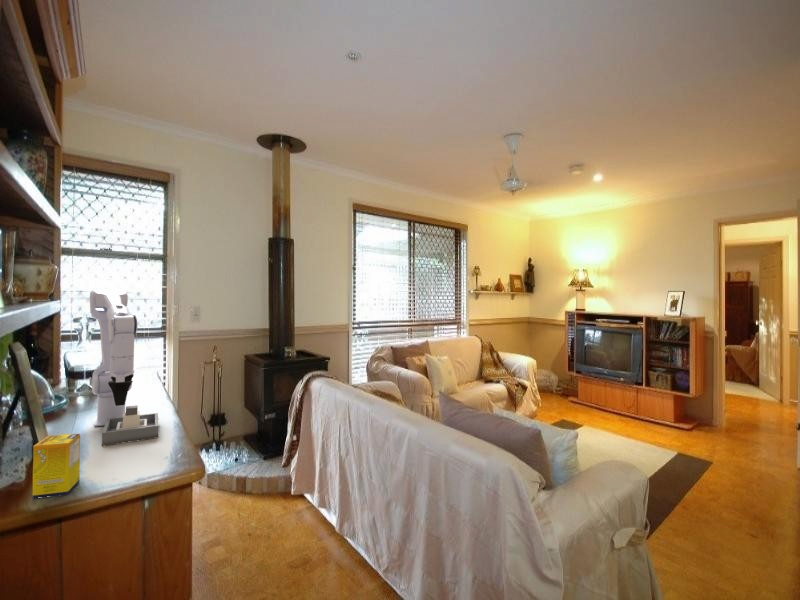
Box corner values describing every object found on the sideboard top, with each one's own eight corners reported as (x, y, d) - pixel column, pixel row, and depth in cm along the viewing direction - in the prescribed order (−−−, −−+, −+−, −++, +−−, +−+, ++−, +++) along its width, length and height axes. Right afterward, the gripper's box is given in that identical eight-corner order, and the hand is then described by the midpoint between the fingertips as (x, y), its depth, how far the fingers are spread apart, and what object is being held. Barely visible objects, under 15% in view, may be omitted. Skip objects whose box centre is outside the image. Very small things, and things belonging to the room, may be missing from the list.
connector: (123, 429, 115) (123, 406, 115) (139, 427, 117) (140, 404, 117) (122, 433, 112) (123, 409, 112) (139, 431, 114) (139, 407, 114)
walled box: (106, 430, 117) (107, 418, 117) (157, 423, 124) (157, 412, 124) (101, 445, 105) (102, 433, 105) (158, 437, 112) (158, 425, 112)
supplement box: (45, 486, 83) (47, 435, 83) (80, 482, 85) (81, 432, 85) (30, 500, 77) (32, 445, 77) (67, 495, 79) (69, 442, 79)
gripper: (107, 353, 118) (106, 397, 118) (102, 360, 106) (101, 410, 106) (135, 352, 122) (134, 395, 122) (133, 359, 110) (132, 406, 110)
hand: (120, 401), depth 115 cm, fingers open, 7 cm apart
